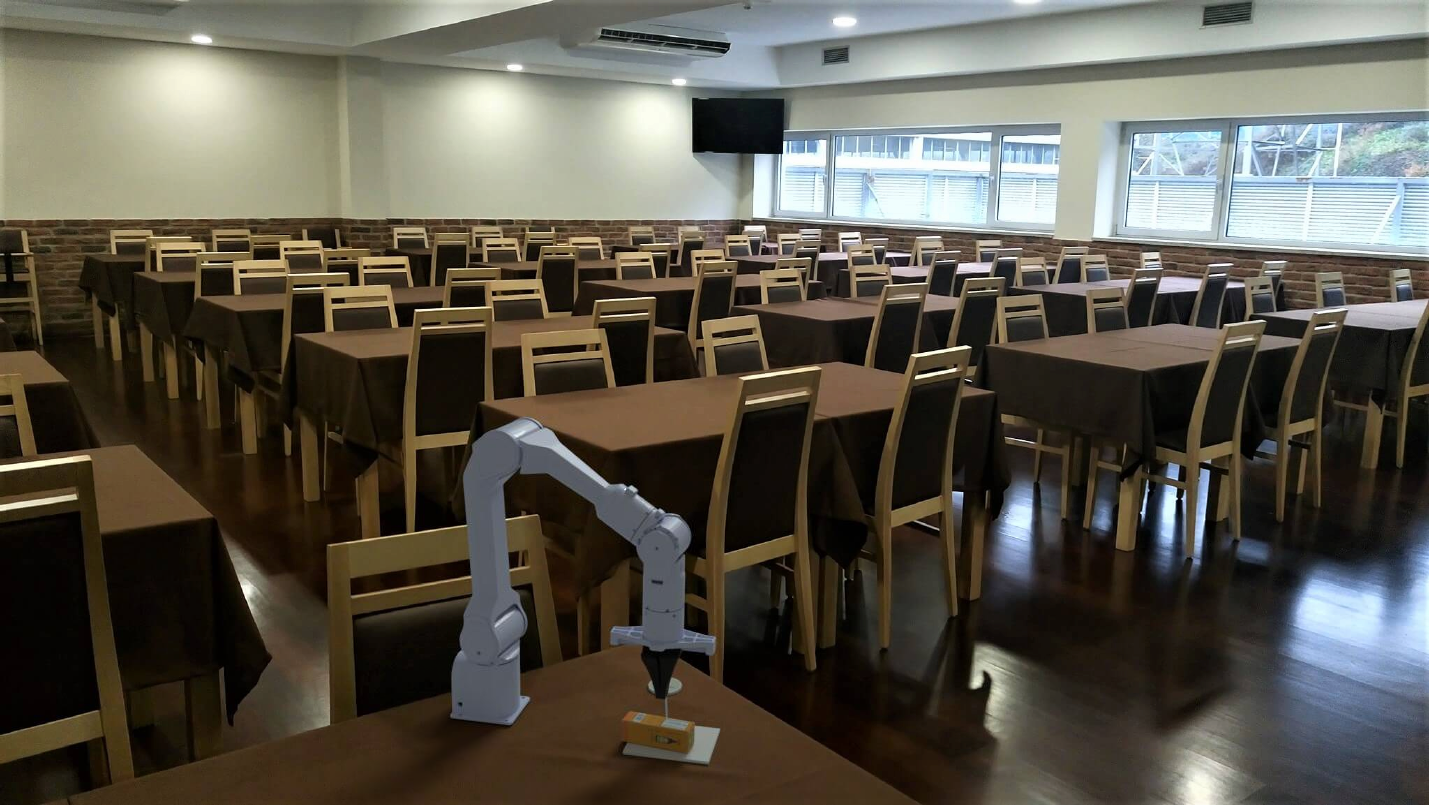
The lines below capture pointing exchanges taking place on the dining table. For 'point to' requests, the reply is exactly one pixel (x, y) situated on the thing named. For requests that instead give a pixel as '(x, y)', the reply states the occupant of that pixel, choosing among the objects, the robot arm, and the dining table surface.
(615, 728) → the dining table surface
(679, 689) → the sign
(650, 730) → the supplement box
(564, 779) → the dining table surface
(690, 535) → the robot arm
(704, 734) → the mat
